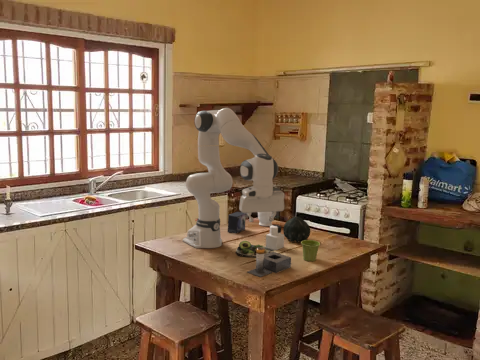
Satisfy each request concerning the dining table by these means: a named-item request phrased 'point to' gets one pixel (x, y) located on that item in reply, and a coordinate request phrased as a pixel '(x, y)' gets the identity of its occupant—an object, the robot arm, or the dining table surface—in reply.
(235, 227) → the small box
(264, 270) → the mat
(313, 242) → the plant pot
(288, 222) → the squash
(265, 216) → the jar
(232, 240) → the dining table surface
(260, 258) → the cylindrical container
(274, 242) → the medicine bottle
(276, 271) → the grey square block
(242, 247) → the salad plate
